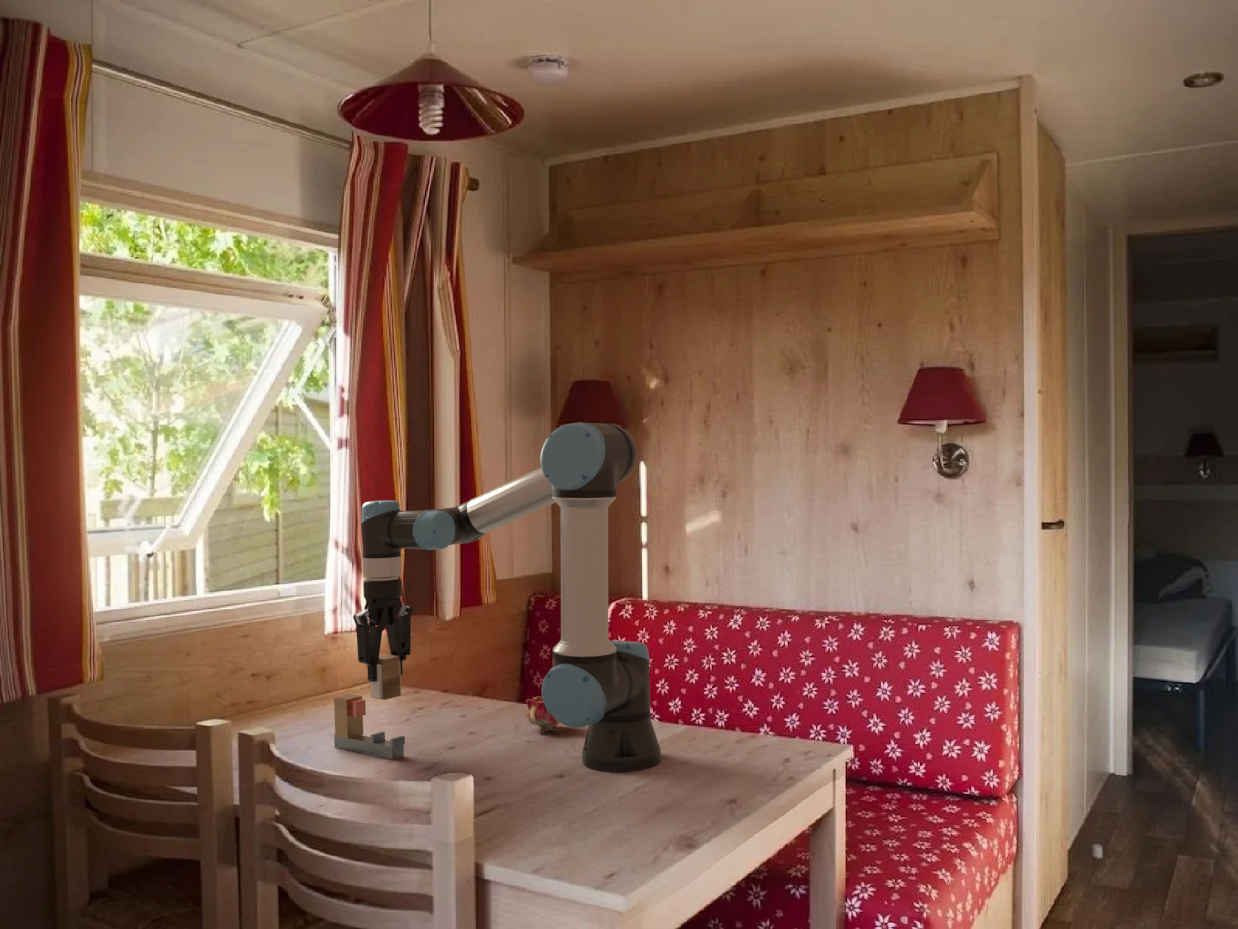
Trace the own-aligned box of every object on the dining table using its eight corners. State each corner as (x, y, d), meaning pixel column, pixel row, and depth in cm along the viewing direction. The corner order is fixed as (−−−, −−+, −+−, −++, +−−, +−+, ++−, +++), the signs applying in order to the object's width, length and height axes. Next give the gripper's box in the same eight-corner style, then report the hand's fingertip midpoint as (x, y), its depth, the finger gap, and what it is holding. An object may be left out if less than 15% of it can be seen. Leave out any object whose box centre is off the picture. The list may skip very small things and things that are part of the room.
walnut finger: (400, 696, 221) (399, 656, 221) (384, 699, 218) (383, 659, 218) (380, 692, 225) (379, 653, 225) (365, 696, 222) (363, 656, 222)
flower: (562, 730, 230) (569, 694, 235) (519, 722, 230) (527, 687, 235) (561, 746, 238) (567, 711, 243) (519, 738, 238) (526, 704, 243)
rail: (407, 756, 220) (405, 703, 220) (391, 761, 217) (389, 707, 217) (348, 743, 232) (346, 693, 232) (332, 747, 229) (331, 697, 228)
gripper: (402, 572, 230) (406, 685, 230) (335, 581, 216) (339, 701, 216) (427, 574, 225) (430, 689, 225) (360, 584, 211) (364, 706, 212)
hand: (386, 694), depth 221 cm, fingers closed on walnut finger, 4 cm apart
